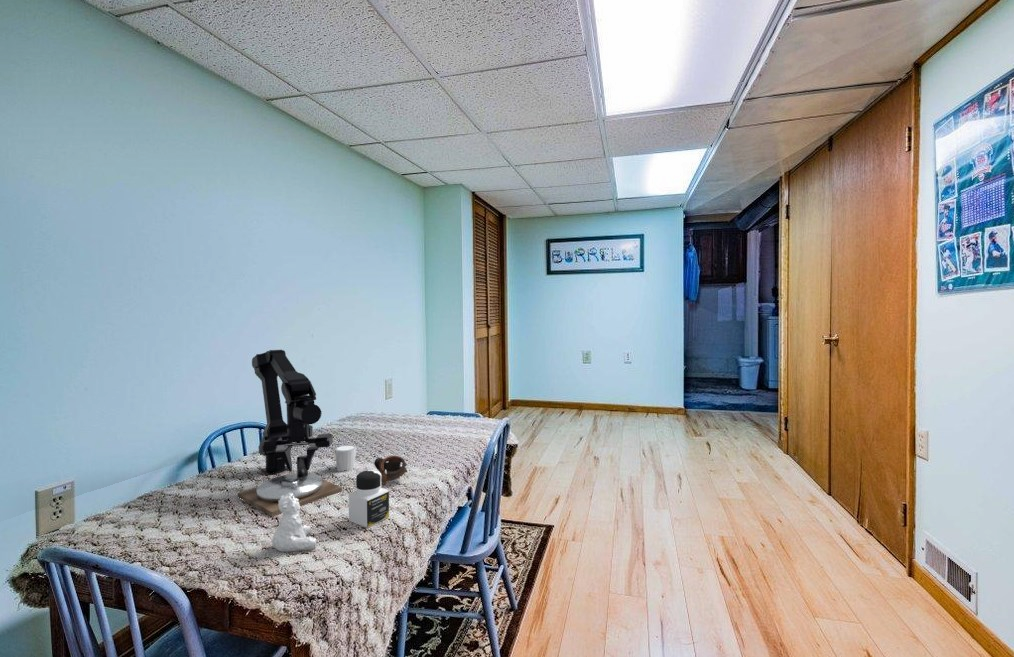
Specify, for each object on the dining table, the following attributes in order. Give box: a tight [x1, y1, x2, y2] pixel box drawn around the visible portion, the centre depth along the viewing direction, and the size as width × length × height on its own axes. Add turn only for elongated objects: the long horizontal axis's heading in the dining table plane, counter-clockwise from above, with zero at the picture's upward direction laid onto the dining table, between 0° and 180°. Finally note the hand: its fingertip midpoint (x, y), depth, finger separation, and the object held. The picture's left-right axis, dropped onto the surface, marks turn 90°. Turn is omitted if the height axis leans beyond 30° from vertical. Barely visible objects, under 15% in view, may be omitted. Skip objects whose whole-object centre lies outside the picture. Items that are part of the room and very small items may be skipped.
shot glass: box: [334, 444, 357, 472], centre depth 147 cm, size 7×7×7 cm
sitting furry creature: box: [271, 493, 317, 553], centre depth 98 cm, size 10×9×12 cm
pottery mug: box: [373, 455, 408, 485], centre depth 138 cm, size 12×10×8 cm
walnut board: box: [236, 478, 343, 518], centre depth 126 cm, size 20×20×1 cm
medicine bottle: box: [348, 469, 390, 529], centre depth 111 cm, size 7×7×12 cm
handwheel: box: [256, 455, 323, 502], centre depth 126 cm, size 17×17×7 cm
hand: (299, 470), depth 133 cm, fingers open, 4 cm apart
